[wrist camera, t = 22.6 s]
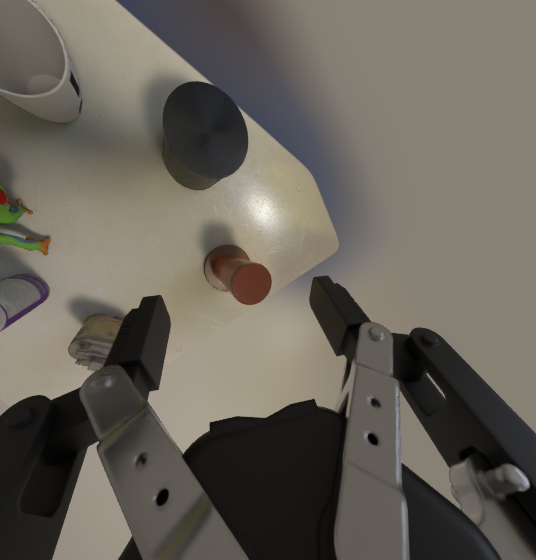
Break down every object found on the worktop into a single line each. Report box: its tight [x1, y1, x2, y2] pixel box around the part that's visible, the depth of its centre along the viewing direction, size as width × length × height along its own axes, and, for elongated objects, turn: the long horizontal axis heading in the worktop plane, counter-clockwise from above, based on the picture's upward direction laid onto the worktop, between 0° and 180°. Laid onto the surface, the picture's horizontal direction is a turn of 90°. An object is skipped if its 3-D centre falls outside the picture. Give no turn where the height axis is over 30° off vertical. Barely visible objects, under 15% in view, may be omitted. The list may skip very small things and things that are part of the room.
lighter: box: [68, 314, 123, 371], centre depth 31 cm, size 7×4×10 cm, turn 59°
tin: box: [163, 81, 248, 190], centre depth 30 cm, size 10×10×12 cm
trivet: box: [204, 245, 249, 291], centre depth 41 cm, size 9×9×1 cm
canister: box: [213, 254, 272, 305], centre depth 36 cm, size 6×6×12 cm
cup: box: [0, 0, 82, 123], centre depth 22 cm, size 8×8×10 cm
